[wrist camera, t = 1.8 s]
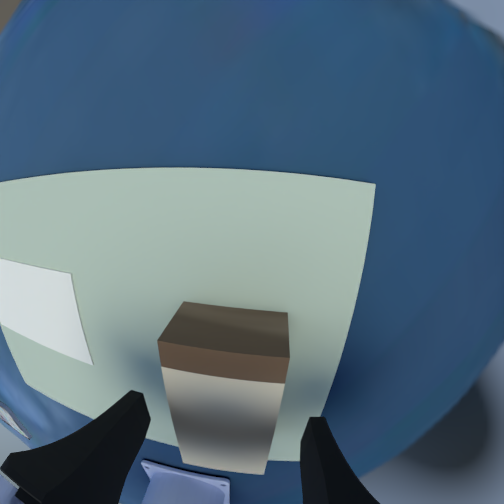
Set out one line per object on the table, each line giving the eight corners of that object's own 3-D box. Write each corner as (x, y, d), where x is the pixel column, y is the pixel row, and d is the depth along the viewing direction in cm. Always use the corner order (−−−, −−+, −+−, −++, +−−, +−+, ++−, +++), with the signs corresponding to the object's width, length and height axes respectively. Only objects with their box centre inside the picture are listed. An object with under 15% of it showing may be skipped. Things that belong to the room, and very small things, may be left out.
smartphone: (-25, 385, 22) (5, 409, 20) (-22, 382, 23) (9, 405, 21) (-4, 414, 24) (32, 441, 22) (-2, 412, 25) (35, 437, 23)
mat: (300, 456, 15) (301, 462, 14) (28, 381, 16) (25, 384, 16) (371, 183, 10) (376, 184, 9) (-22, 186, 11) (-27, 188, 11)
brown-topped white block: (266, 435, 14) (263, 474, 11) (195, 425, 14) (183, 462, 11) (287, 312, 11) (290, 357, 8) (183, 301, 11) (156, 340, 8)
